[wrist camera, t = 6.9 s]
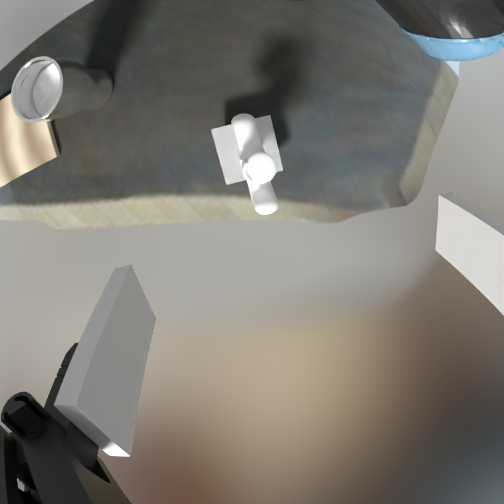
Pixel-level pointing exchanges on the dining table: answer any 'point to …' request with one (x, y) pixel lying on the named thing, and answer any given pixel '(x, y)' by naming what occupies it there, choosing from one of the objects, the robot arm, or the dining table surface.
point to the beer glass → (58, 89)
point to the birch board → (23, 143)
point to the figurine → (250, 157)
